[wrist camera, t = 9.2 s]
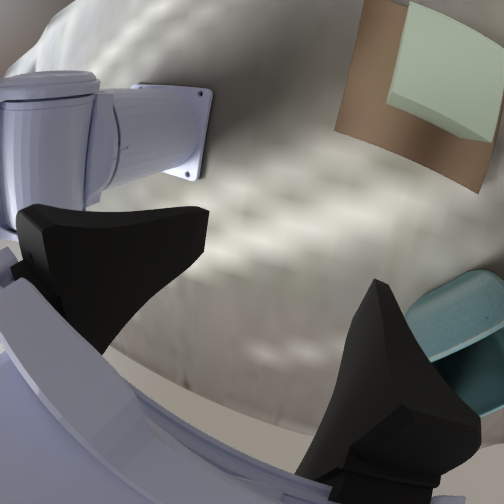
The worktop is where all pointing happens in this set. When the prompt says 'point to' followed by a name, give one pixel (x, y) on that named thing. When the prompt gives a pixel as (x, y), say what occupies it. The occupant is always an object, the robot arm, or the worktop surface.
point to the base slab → (396, 120)
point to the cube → (448, 75)
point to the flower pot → (465, 336)
